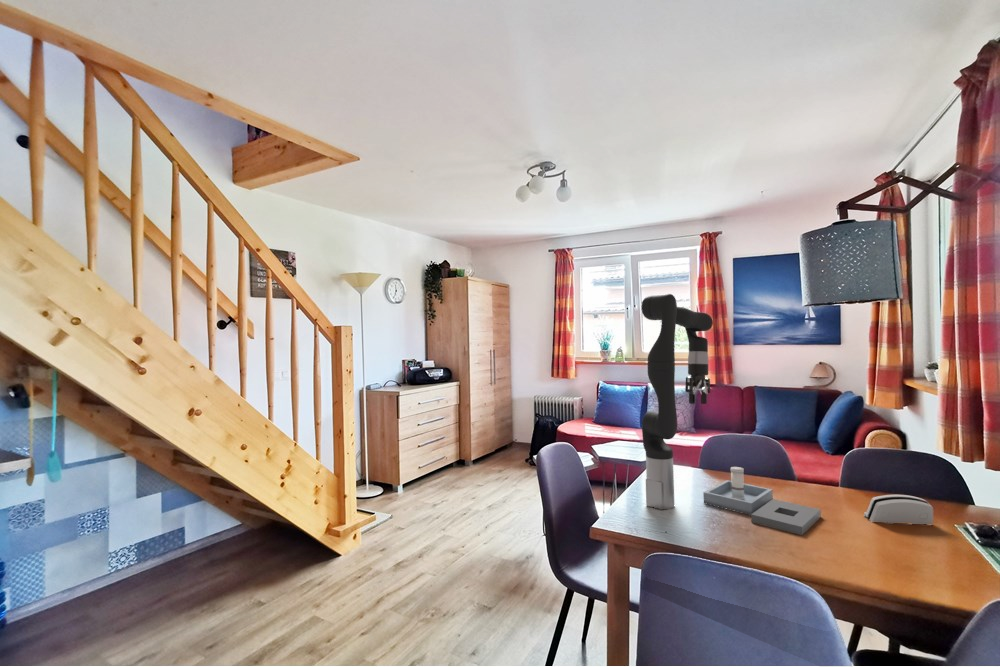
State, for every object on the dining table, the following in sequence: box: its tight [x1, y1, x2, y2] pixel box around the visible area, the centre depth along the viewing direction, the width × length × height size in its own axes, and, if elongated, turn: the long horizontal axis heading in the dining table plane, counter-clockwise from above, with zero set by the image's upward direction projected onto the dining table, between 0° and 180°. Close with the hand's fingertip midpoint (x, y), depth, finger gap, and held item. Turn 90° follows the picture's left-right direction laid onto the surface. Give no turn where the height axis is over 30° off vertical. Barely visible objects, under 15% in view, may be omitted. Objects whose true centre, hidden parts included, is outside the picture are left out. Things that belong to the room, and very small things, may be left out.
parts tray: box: [702, 479, 774, 516], centre depth 164 cm, size 20×16×4 cm
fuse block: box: [750, 498, 822, 536], centre depth 147 cm, size 20×14×2 cm
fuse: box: [730, 466, 745, 500], centre depth 164 cm, size 4×4×11 cm
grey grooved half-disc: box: [863, 494, 934, 525], centre depth 143 cm, size 17×5×10 cm, turn 78°
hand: (698, 403), depth 182 cm, fingers open, 8 cm apart
